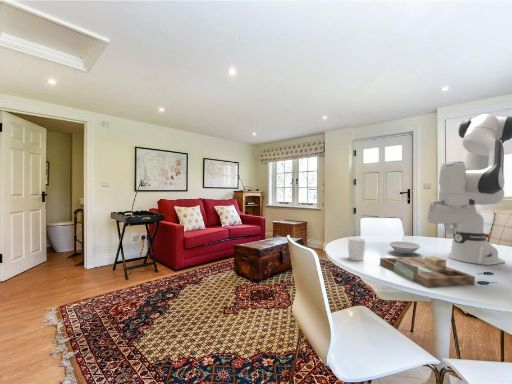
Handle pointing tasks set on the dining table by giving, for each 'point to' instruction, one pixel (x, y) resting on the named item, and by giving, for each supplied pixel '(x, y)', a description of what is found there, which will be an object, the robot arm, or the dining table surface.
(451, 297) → the dining table surface
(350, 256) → the white cup
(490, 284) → the dining table surface
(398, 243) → the dish
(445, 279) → the brown wooden compartment tray
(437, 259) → the maple block
